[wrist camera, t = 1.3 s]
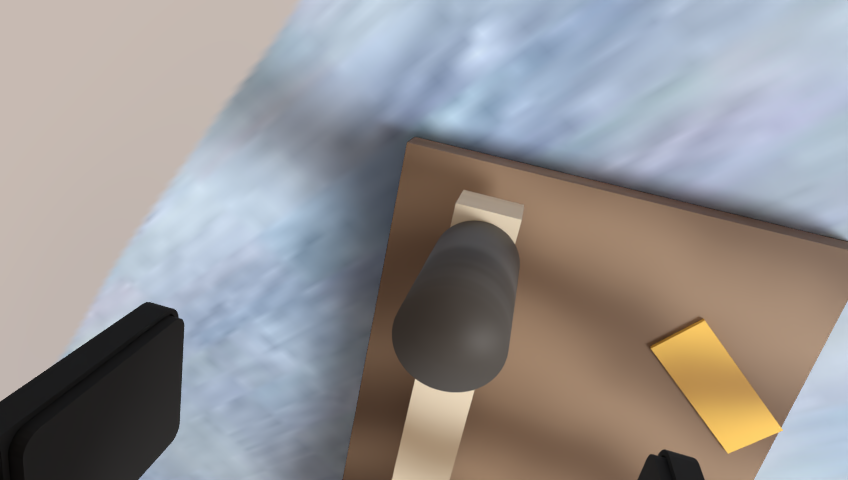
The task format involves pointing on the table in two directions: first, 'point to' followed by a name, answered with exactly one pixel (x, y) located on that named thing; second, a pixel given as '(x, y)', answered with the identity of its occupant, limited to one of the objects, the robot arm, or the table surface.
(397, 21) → the table surface
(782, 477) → the table surface
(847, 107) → the table surface
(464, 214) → the lever
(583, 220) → the press board
